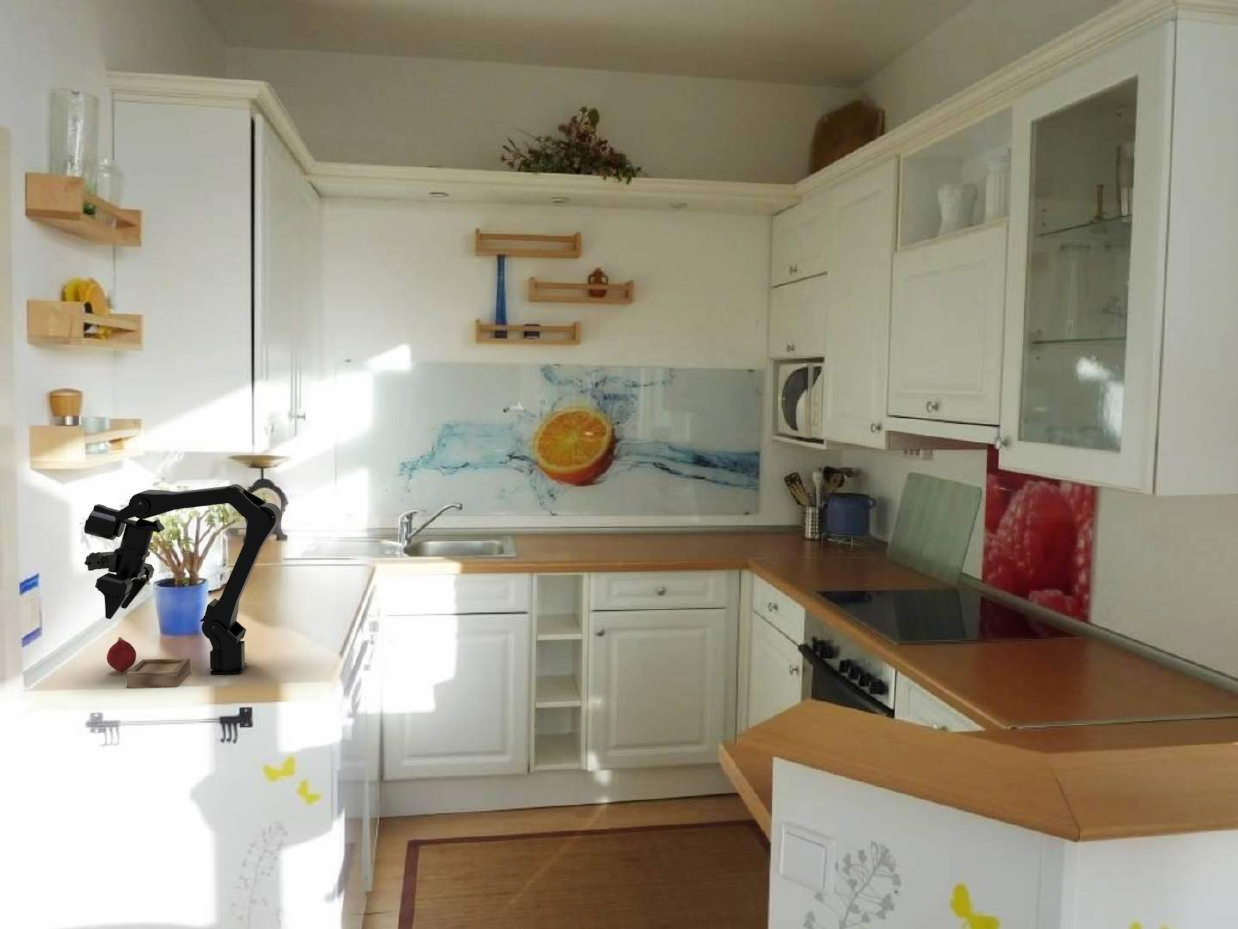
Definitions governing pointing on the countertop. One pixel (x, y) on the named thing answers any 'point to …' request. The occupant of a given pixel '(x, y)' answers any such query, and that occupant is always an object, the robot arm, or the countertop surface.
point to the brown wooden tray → (158, 673)
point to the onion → (121, 655)
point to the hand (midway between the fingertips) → (116, 613)
